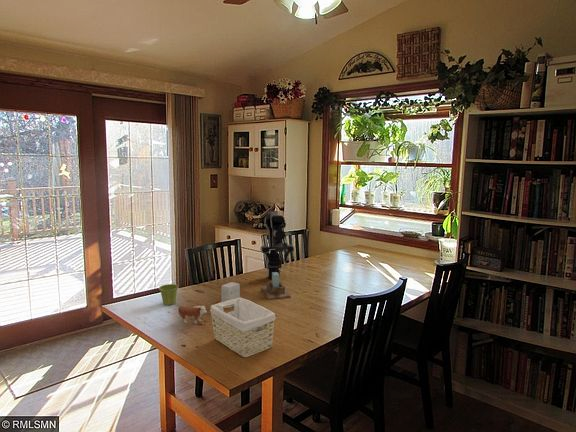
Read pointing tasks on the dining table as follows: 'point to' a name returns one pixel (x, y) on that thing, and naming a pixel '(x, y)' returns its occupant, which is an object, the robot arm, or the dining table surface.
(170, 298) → the plant pot
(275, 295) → the board
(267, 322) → the storage basket
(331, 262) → the dining table surface
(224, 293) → the small box
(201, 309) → the bull figurine
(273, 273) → the pale blue rectangular block
